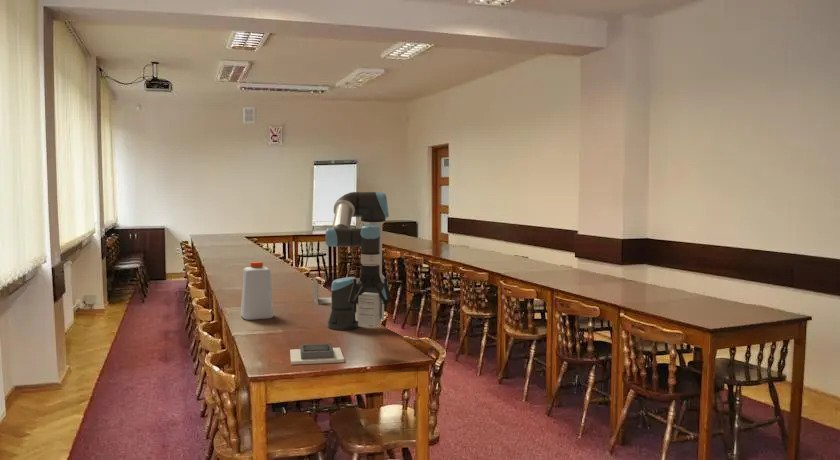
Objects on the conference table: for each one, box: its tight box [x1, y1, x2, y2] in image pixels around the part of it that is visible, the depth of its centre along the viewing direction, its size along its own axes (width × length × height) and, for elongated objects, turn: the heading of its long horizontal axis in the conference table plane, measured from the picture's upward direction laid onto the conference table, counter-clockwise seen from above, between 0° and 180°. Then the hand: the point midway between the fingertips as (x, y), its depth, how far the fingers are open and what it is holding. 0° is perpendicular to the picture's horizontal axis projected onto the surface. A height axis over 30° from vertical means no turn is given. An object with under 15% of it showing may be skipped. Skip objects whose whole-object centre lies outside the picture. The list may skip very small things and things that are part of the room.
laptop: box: [312, 277, 332, 305], centre depth 376 cm, size 18×12×13 cm
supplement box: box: [358, 292, 382, 329], centre depth 259 cm, size 7×7×13 cm
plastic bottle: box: [240, 261, 274, 321], centre depth 329 cm, size 15×15×28 cm
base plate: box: [289, 347, 345, 366], centre depth 255 cm, size 18×20×1 cm
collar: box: [299, 343, 334, 359], centre depth 255 cm, size 12×12×2 cm
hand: (369, 319), depth 259 cm, fingers closed on supplement box, 10 cm apart
